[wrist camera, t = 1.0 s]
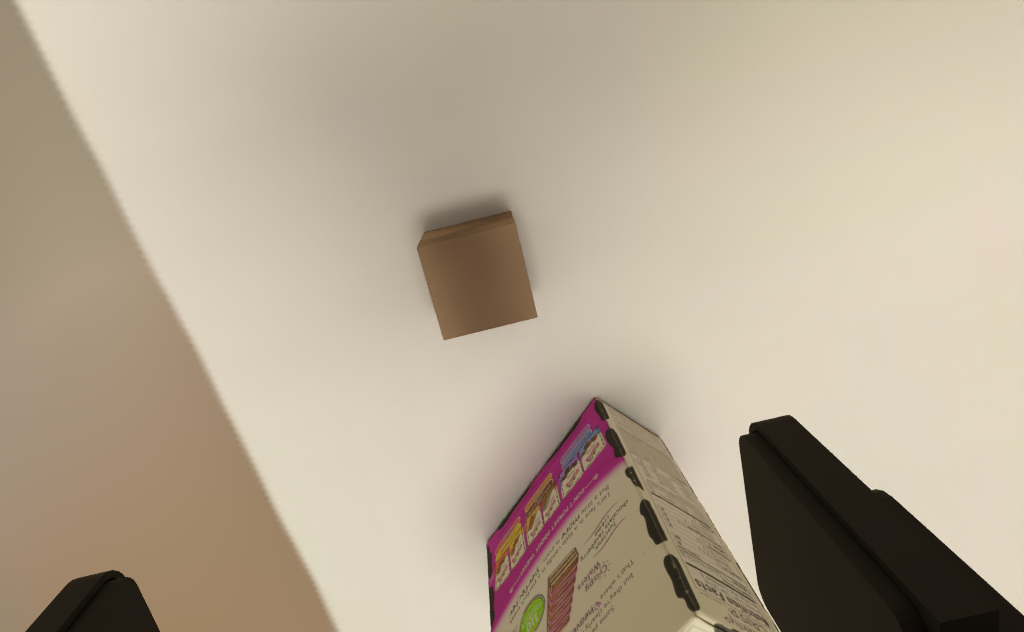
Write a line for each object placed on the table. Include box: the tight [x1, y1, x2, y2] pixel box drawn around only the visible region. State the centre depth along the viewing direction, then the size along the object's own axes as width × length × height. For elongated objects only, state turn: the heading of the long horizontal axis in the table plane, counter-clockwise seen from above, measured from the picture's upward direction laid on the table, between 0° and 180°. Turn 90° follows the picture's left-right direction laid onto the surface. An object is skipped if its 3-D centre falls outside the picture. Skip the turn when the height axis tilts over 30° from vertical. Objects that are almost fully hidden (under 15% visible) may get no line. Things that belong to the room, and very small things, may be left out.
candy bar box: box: [486, 398, 779, 632], centre depth 29 cm, size 11×5×16 cm, turn 147°
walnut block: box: [417, 211, 538, 340], centre depth 31 cm, size 4×4×4 cm
